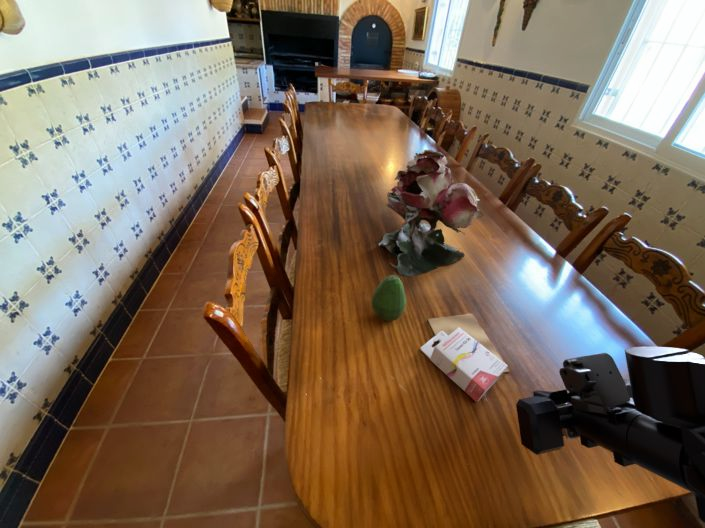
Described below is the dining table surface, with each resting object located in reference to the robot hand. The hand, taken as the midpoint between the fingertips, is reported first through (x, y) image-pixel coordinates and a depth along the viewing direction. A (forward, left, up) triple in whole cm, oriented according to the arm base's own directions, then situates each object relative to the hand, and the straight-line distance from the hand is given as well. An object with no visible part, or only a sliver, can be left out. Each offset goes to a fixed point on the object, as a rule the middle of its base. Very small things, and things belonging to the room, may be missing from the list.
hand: (535, 394), depth 48 cm
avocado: (+32, -4, -11) cm, 34 cm away
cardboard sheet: (+14, -10, -10) cm, 20 cm away
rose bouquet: (+43, -35, -11) cm, 56 cm away
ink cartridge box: (+5, -3, -7) cm, 9 cm away
